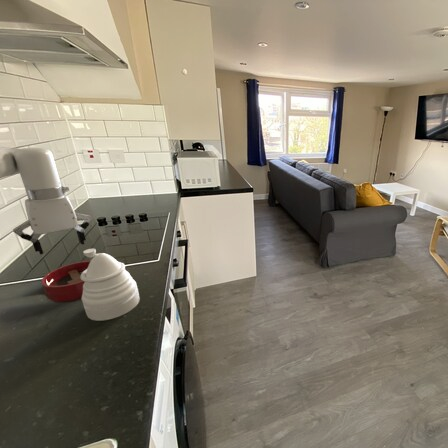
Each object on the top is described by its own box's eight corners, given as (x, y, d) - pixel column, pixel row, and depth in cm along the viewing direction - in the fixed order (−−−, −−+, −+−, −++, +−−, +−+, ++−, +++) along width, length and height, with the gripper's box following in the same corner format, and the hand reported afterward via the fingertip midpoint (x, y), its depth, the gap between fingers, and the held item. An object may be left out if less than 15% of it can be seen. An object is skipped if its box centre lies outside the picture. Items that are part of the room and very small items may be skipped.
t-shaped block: (65, 281, 85) (62, 273, 84) (84, 275, 89) (81, 267, 87) (73, 295, 78) (69, 286, 77) (93, 288, 82) (90, 279, 81)
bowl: (34, 305, 75) (27, 289, 73) (66, 277, 89) (61, 262, 87) (94, 299, 78) (89, 283, 76) (116, 272, 92) (112, 258, 90)
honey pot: (80, 326, 68) (59, 265, 61) (92, 298, 78) (75, 244, 72) (138, 312, 73) (123, 255, 66) (141, 287, 84) (129, 236, 77)
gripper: (80, 187, 83) (93, 236, 89) (0, 195, 70) (21, 252, 76) (86, 191, 78) (99, 243, 84) (2, 201, 66) (24, 261, 72)
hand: (62, 247), depth 80 cm, fingers open, 9 cm apart
